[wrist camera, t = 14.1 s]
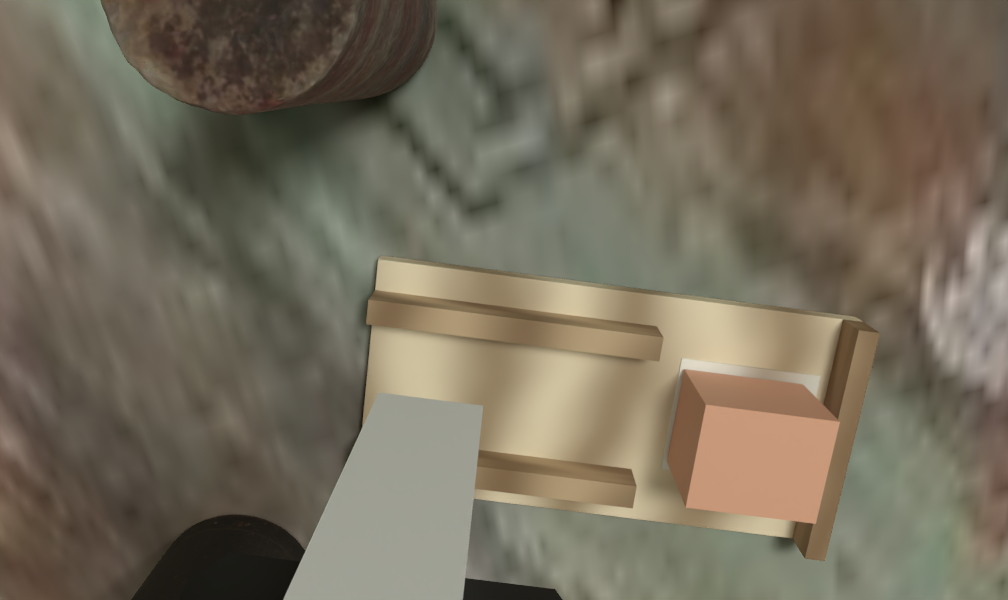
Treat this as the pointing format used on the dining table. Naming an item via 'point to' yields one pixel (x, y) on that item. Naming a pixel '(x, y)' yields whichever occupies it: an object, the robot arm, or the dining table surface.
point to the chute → (601, 382)
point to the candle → (273, 49)
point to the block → (751, 446)
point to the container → (215, 552)
